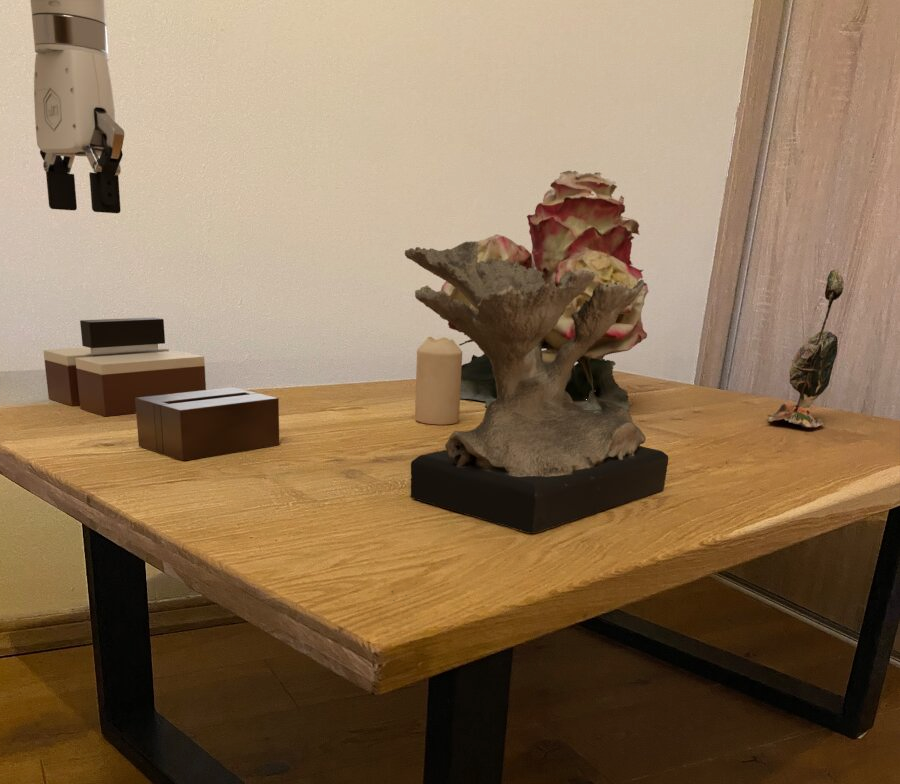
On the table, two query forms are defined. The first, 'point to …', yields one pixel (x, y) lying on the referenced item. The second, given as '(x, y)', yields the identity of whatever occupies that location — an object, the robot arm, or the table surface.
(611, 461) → the coral
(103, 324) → the dark piece
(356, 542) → the table surface
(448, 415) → the candle
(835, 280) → the plant with pod
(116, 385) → the wooden blocks
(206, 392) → the brown wooden slotted box
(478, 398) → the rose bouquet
